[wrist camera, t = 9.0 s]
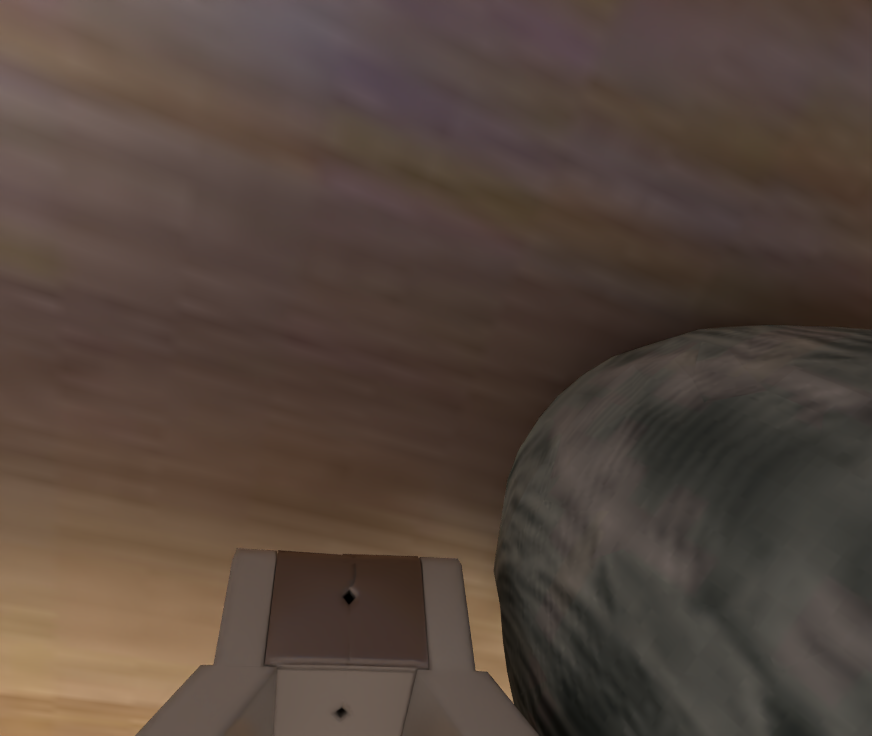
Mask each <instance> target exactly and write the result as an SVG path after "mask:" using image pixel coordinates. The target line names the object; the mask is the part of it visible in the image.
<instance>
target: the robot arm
mask: <svg viewBox="0 0 872 736" xmlns="http://www.w3.org/2000/svg"><path fill="white" fill-rule="evenodd" d="M135 736H539V735H538V733H537V732H536V731H535V730H534V728H533V727H532V726H531V725H530V724H529V722H528V721H527V720H526V719H525V717H524V716H523V715H522V714H521V713H520V711H519V710H518V709H517V708H516V706H515V705H514V704H513V703H512V701H511V700H510V699H509V698H508V697H507V695H506V694H505V693H504V692H503V690H502V689H501V688H500V687H499V686H498V684H497V683H496V682H495V681H494V679H493V678H492V677H491V676H490V675H489V673H488V672H484V671H475V663H474V656H473V648H472V640H471V633H470V625H469V618H468V610H467V603H466V595H465V588H464V580H463V572H462V565H461V563H460V562H459V560H458V559H455V558H432V557H420V558H418V556H394V555H363V554H343V555H338V554H324V553H310V552H296V551H281V550H278V553H277V551H276V550H260V549H243V548H237V549H236V551H235V554H234V557H233V559H232V565H231V570H230V576H229V581H228V587H227V592H226V598H225V603H224V609H223V615H222V620H221V626H220V631H219V637H218V642H217V648H216V654H215V659H214V665H200V666H199V667H198V669H197V670H196V671H195V672H194V673H193V674H192V675H191V676H190V677H189V678H188V679H187V680H186V681H185V683H184V684H183V685H182V686H181V687H180V688H179V689H178V690H177V691H176V692H175V693H174V694H173V695H172V697H171V698H170V699H169V700H168V701H167V702H166V703H165V704H164V705H163V706H162V707H161V708H160V709H159V711H158V712H157V713H156V714H155V715H154V716H153V717H152V718H151V719H150V720H149V721H148V722H147V723H146V725H145V726H144V727H143V728H142V729H141V730H140V731H139V732H138V733H137V734H136V735H135Z"/></svg>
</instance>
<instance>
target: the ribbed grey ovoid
mask: <svg viewBox="0 0 872 736" xmlns="http://www.w3.org/2000/svg"><path fill="white" fill-rule="evenodd" d="M494 575H495V581H496V586H497V591H498V597H499V602H500V610H501V623H502V635H503V644H504V652H505V659H506V666H507V673H508V678H509V683H510V687H511V692H512V697H513V702H514V705H515V706H516V708H517V709H518V710H519V711H520V713H521V714H522V715H523V716H524V717H525V719H526V720H527V721H528V722H529V724H530V725H531V726H532V727H533V728H534V730H535V731H536V732H537V733H538V735H539V736H872V330H870V329H857V328H844V327H819V326H786V325H760V326H738V327H721V328H710V329H699V330H696V331H692V332H689V333H686V334H682V335H679V336H676V337H673V338H669V339H666V340H663V341H659V342H656V343H653V344H650V345H647V346H644V347H641V348H638V349H635V350H632V351H629V352H626V353H623V354H620V355H616V356H613V357H611V358H610V359H608V360H606V361H605V362H603V363H601V364H600V365H598V366H596V367H595V368H593V369H591V370H590V371H588V372H587V373H585V374H583V375H582V376H581V377H580V378H579V379H577V380H576V381H575V382H574V383H573V384H571V385H570V386H569V387H568V388H567V389H565V390H564V391H563V392H562V393H561V394H559V395H558V396H557V397H556V399H555V400H554V401H553V402H552V403H551V405H550V406H549V407H548V408H547V409H546V410H545V412H544V413H543V414H542V415H541V416H540V418H539V419H538V421H537V422H536V424H535V425H534V427H533V428H532V430H531V431H530V433H529V434H528V436H527V438H526V439H525V441H524V442H523V444H522V445H521V447H520V448H519V450H518V453H517V455H516V458H515V461H514V464H513V466H512V469H511V472H510V474H509V477H508V480H507V485H506V492H505V498H504V504H503V511H502V517H501V524H500V530H499V537H498V544H497V550H496V557H495V563H494Z"/></svg>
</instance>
